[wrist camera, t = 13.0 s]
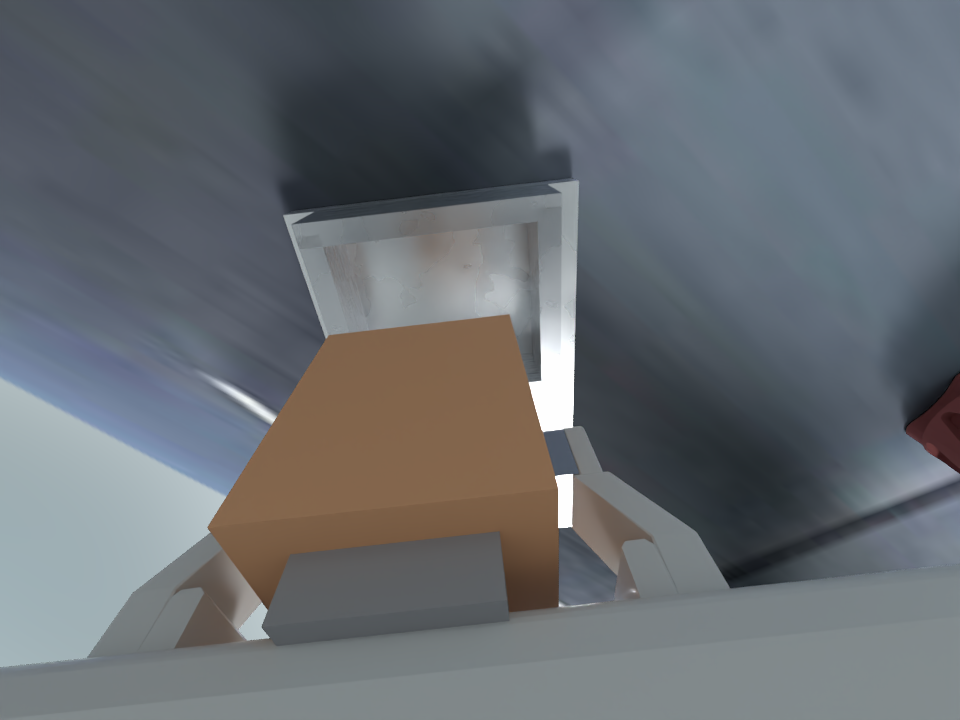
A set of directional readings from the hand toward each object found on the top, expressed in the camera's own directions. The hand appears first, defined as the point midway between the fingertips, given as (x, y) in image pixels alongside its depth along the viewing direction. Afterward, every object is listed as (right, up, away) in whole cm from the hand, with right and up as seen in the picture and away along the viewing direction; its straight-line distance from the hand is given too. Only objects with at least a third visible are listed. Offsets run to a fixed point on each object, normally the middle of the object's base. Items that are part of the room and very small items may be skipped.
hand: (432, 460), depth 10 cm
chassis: (0, +3, +14) cm, 14 cm away
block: (0, +1, +2) cm, 2 cm away
